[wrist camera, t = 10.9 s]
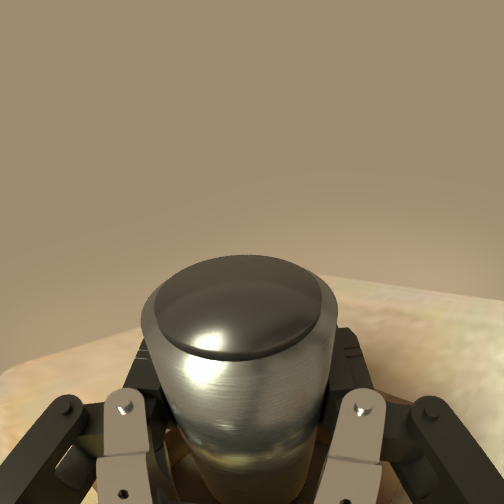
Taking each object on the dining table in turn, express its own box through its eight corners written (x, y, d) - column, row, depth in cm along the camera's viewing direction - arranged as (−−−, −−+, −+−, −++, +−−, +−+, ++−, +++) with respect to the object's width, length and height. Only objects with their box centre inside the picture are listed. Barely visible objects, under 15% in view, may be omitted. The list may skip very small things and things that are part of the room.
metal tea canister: (246, 417, 15) (228, 237, 10) (325, 458, 12) (368, 275, 8) (184, 475, 12) (102, 304, 7) (266, 531, 9) (256, 409, 4)
